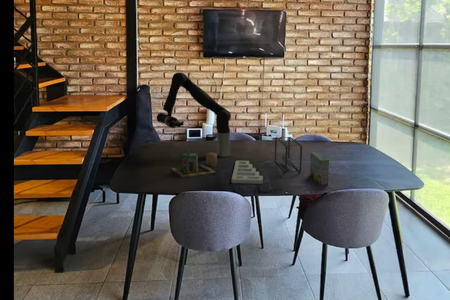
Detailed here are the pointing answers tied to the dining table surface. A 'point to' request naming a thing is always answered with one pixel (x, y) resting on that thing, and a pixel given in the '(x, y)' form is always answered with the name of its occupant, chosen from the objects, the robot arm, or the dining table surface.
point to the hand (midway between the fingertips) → (179, 125)
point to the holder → (246, 173)
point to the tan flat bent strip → (195, 173)
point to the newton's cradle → (284, 157)
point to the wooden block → (211, 159)
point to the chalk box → (189, 163)
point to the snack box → (319, 168)
